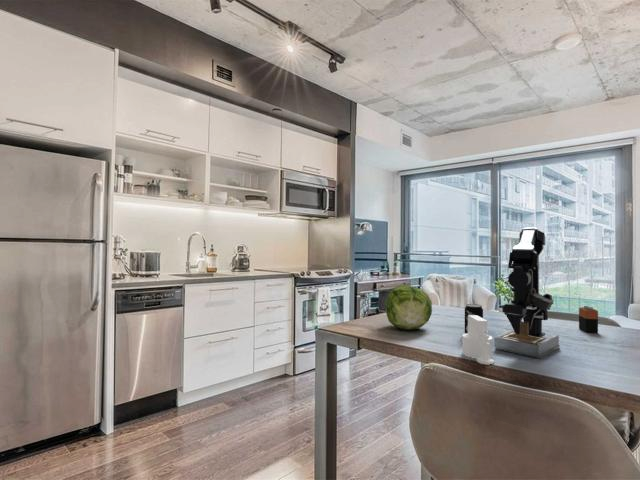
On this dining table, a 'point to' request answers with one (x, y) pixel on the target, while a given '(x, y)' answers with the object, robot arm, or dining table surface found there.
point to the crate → (524, 335)
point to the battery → (588, 319)
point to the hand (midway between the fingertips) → (523, 331)
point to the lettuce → (408, 307)
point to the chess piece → (485, 351)
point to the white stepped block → (475, 338)
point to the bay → (527, 345)
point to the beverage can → (472, 313)
